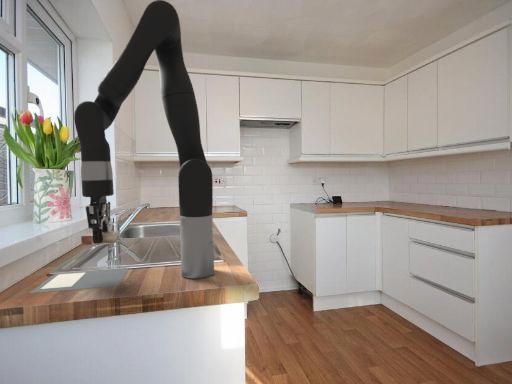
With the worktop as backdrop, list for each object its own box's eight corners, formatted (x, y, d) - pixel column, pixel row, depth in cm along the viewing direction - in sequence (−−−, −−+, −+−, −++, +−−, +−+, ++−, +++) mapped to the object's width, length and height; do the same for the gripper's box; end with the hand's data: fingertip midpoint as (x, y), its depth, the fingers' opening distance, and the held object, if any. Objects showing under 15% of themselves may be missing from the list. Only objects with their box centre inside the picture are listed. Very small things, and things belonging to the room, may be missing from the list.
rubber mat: (129, 269, 90) (129, 267, 90) (118, 287, 75) (118, 285, 75) (56, 274, 85) (56, 272, 85) (29, 295, 71) (28, 292, 70)
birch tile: (118, 239, 84) (118, 230, 84) (114, 242, 79) (114, 234, 79) (88, 241, 82) (87, 232, 82) (81, 245, 77) (81, 236, 77)
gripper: (105, 178, 73) (109, 245, 74) (118, 178, 87) (121, 234, 88) (71, 179, 71) (76, 248, 73) (90, 178, 85) (94, 236, 87)
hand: (101, 240), depth 80 cm, fingers closed on birch tile, 5 cm apart
